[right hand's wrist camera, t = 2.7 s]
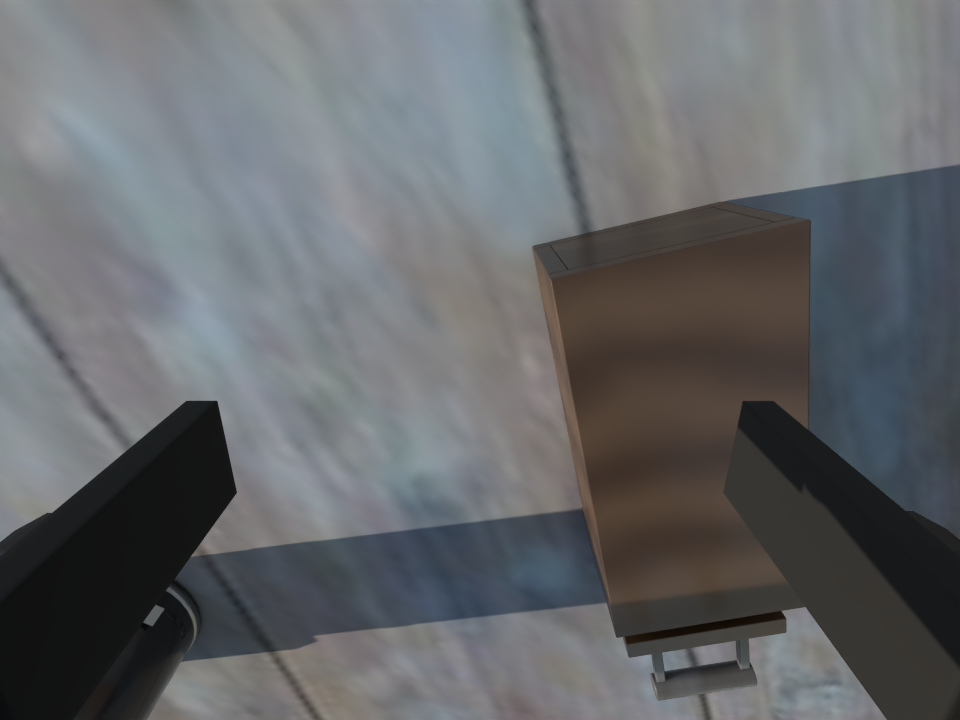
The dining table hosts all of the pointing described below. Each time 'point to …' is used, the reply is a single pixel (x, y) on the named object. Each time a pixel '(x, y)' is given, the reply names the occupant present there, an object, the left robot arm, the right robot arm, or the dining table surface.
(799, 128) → the dining table surface
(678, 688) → the drawer
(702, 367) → the cabinet
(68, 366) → the dining table surface
